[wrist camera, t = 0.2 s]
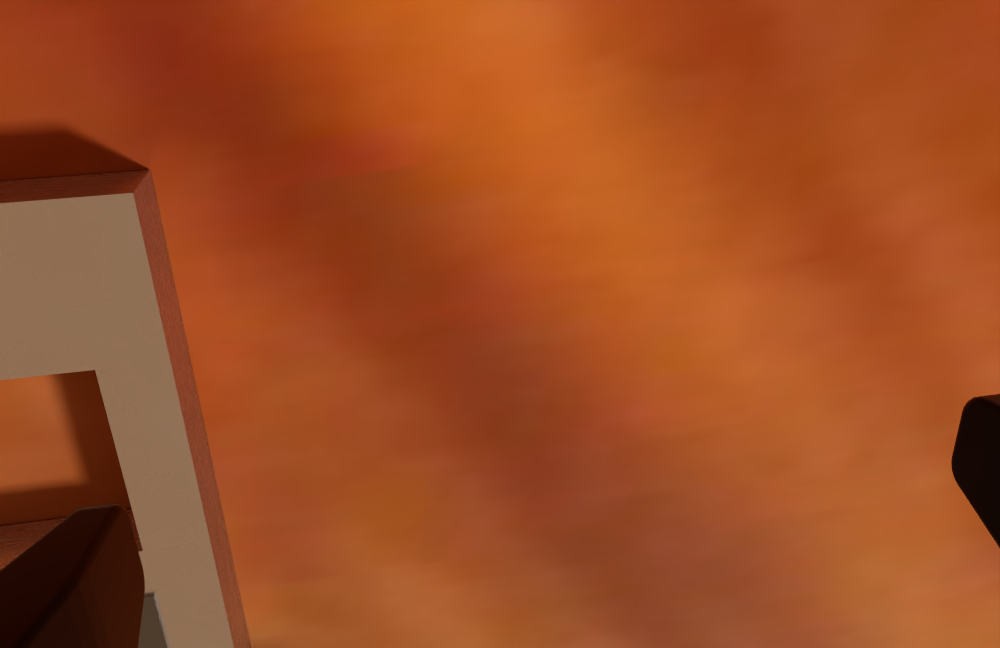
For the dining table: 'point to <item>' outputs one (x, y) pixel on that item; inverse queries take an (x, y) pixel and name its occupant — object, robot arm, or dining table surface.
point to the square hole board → (122, 383)
